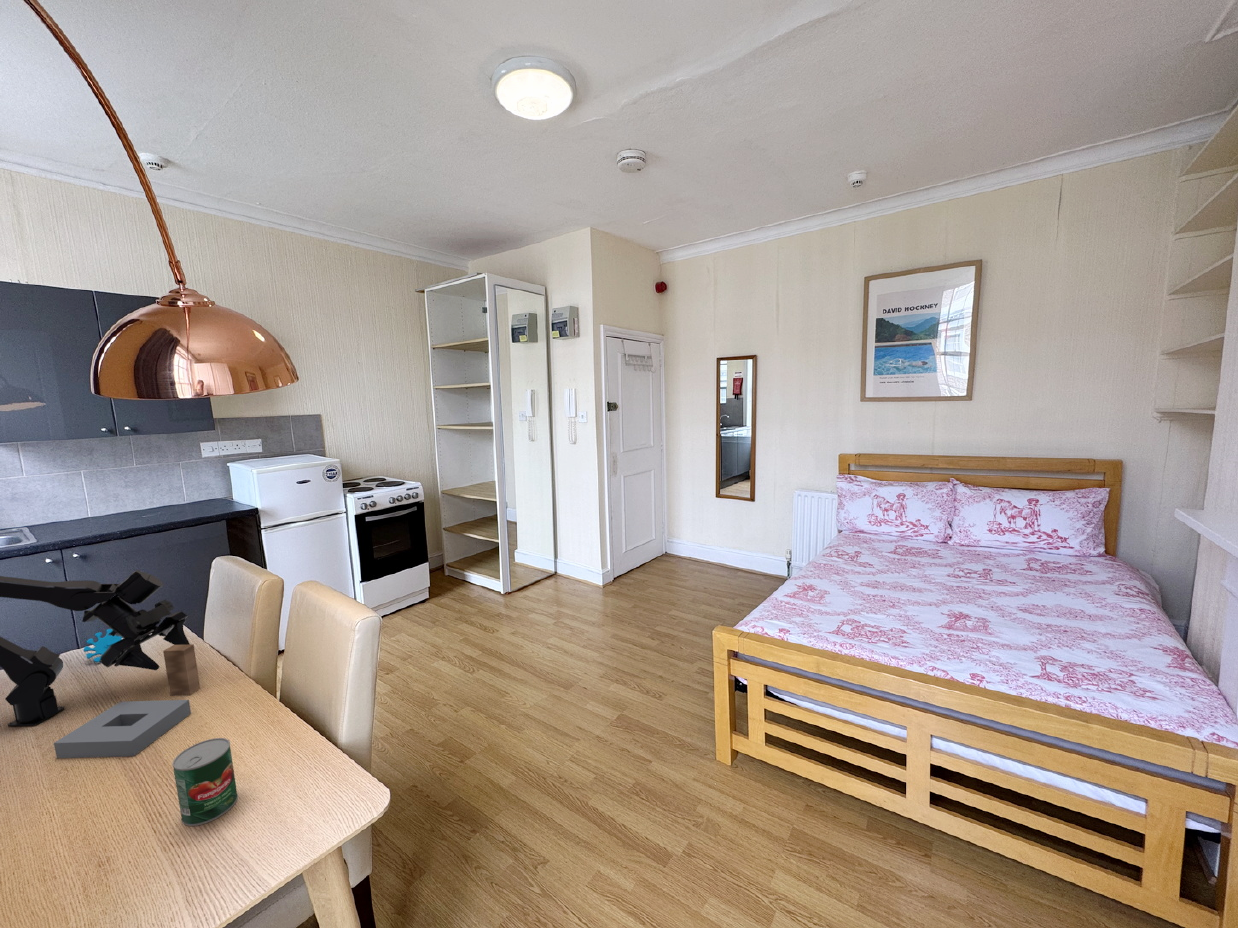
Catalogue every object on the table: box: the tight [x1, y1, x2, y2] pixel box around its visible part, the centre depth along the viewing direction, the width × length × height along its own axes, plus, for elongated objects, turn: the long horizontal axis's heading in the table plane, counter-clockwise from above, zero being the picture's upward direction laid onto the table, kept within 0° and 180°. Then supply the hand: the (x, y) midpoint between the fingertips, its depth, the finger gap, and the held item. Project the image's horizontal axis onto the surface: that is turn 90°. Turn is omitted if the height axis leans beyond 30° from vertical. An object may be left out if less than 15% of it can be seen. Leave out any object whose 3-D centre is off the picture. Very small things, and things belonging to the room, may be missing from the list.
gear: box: [83, 628, 123, 663], centre depth 145 cm, size 11×6×10 cm
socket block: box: [53, 699, 192, 759], centre depth 110 cm, size 16×14×4 cm
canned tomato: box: [171, 737, 239, 827], centre depth 89 cm, size 8×8×11 cm
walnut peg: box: [162, 643, 201, 697], centre depth 125 cm, size 5×3×12 cm, turn 91°
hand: (174, 658), depth 125 cm, fingers open, 9 cm apart
